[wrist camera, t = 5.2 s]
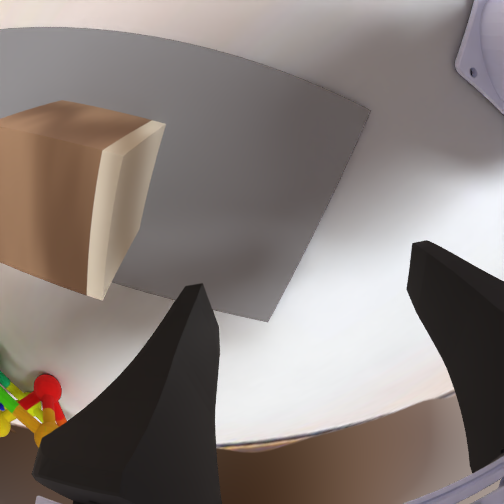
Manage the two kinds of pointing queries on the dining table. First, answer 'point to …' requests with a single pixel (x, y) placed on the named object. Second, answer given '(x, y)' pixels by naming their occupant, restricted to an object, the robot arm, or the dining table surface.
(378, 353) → the dining table surface
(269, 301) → the mat
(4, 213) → the walnut cube
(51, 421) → the decorative model
